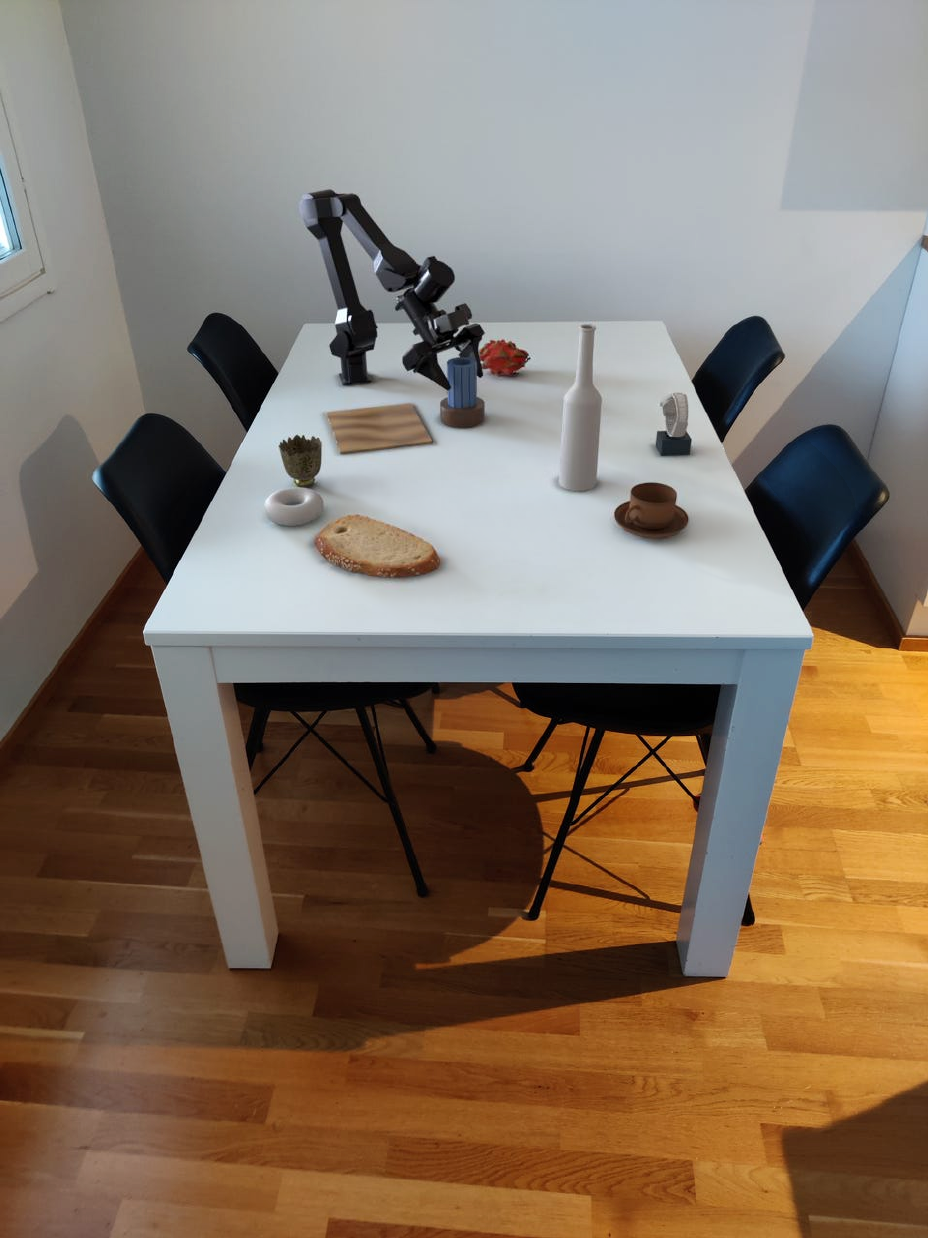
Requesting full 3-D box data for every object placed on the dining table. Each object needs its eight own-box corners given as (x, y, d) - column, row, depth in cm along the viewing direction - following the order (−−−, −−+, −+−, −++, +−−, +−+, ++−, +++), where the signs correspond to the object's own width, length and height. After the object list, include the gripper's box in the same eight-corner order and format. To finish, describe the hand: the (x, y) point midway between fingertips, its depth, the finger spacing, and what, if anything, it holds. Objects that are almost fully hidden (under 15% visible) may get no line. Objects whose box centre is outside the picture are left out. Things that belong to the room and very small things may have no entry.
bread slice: (446, 571, 144) (445, 550, 142) (329, 591, 140) (326, 569, 138) (417, 517, 158) (416, 498, 156) (310, 534, 154) (308, 513, 152)
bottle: (603, 482, 168) (616, 325, 152) (581, 495, 164) (591, 335, 148) (574, 471, 172) (583, 317, 156) (551, 483, 168) (558, 326, 152)
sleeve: (444, 399, 192) (443, 358, 187) (472, 396, 193) (472, 355, 188) (451, 409, 187) (450, 368, 182) (479, 406, 188) (479, 365, 183)
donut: (317, 531, 155) (330, 501, 163) (315, 512, 153) (328, 484, 161) (258, 529, 156) (274, 499, 164) (255, 510, 154) (271, 482, 162)
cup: (332, 478, 171) (328, 437, 166) (314, 496, 165) (309, 454, 160) (296, 472, 173) (291, 432, 168) (276, 490, 167) (271, 448, 162)
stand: (436, 413, 195) (434, 375, 190) (477, 408, 197) (477, 371, 192) (446, 430, 188) (445, 391, 183) (489, 425, 189) (489, 387, 185)
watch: (681, 440, 182) (688, 386, 176) (692, 458, 176) (699, 402, 169) (652, 441, 182) (658, 387, 176) (662, 459, 175) (669, 403, 169)
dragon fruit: (473, 379, 215) (525, 386, 215) (476, 368, 206) (530, 376, 207) (477, 342, 215) (529, 349, 216) (481, 330, 206) (534, 338, 207)
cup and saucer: (670, 551, 148) (675, 517, 144) (601, 532, 153) (603, 498, 150) (697, 519, 156) (702, 486, 153) (631, 502, 162) (634, 469, 158)
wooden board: (326, 414, 195) (325, 412, 195) (411, 404, 199) (411, 402, 198) (340, 453, 179) (340, 451, 179) (432, 442, 183) (432, 440, 183)
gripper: (409, 302, 175) (453, 374, 175) (477, 281, 186) (519, 349, 186) (383, 336, 184) (425, 404, 184) (450, 314, 195) (489, 378, 195)
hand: (466, 382), depth 187 cm, fingers open, 9 cm apart
